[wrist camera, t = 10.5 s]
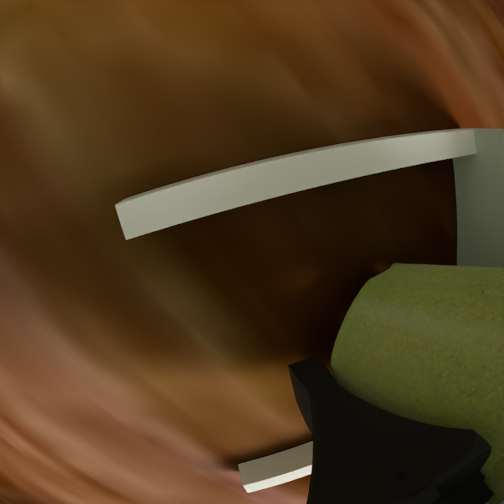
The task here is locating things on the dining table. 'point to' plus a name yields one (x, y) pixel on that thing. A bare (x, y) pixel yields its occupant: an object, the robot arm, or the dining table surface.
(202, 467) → the dining table surface
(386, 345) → the plant pot
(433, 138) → the display bay
